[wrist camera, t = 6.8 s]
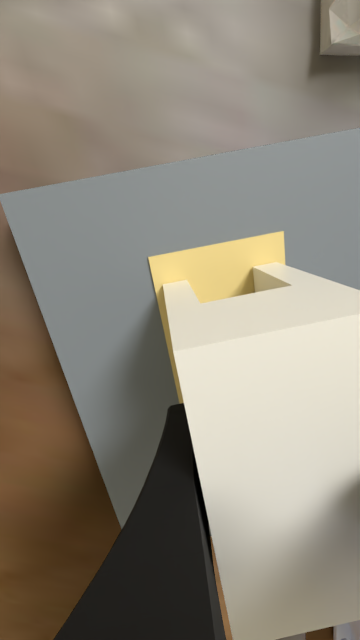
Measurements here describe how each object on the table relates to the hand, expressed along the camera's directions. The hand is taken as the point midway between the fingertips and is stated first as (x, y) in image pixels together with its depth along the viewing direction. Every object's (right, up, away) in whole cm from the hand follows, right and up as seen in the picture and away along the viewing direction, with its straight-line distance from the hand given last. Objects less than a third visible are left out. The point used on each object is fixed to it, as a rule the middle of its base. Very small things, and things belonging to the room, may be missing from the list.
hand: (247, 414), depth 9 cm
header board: (0, +1, +3) cm, 3 cm away
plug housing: (0, -1, +2) cm, 2 cm away
